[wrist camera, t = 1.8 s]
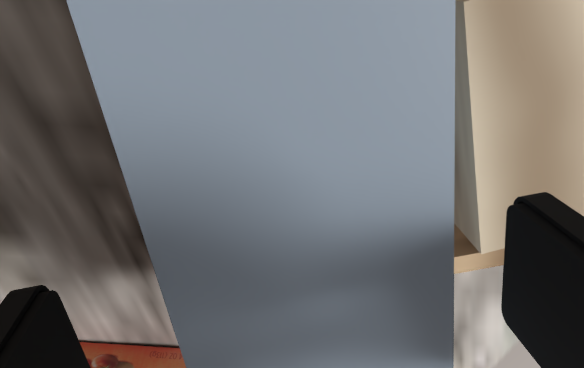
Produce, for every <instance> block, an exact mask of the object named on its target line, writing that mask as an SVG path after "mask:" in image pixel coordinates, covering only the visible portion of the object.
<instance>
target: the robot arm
mask: <svg viewBox="0 0 584 368" xmlns="http://www.w3.org/2000/svg"><path fill="white" fill-rule="evenodd" d="M502 314H503V317H504V320H505V322H506V324H507V325H508V326H509V328H510V329H511V330H512V331H513V333H514V334H515V335H516V337H517V338H518V339H519V340H520V342H521V343H522V344H523V345H524V347H525V348H526V349H527V350H528V352H529V353H530V354H531V355H532V357H533V358H534V359H535V360H536V362H537V363H538V364H539V365H540V367H541V368H584V216H582V215H581V214H579V213H578V212H577V211H575V210H574V209H572V208H571V207H569V206H568V205H566V204H565V203H563V202H562V201H560V200H559V199H557V198H556V197H554V196H553V195H551V194H550V193H547V192H542V193H536V194H531V195H525V196H520V197H517V198H516V199H515V201H514V203H513V205H510V206H509V207H508V209H507V213H506V231H505V250H504V269H503V288H502ZM0 368H91V367H90V365H89V363H88V361H87V358H86V356H85V354H84V351H83V349H82V347H81V345H80V342H79V340H78V338H77V335H76V333H75V331H74V329H73V326H72V324H71V322H70V319H69V317H68V315H67V312H66V310H65V308H64V306H63V303H62V301H61V299H60V297H59V295H58V293H57V292H56V291H53V290H52V291H49V289H48V288H47V287H46V286H43V285H39V286H34V287H29V288H23V289H18V290H13V291H11V292H10V293H9V294H8V295H7V296H6V297H5V299H4V300H3V301H2V303H1V304H0Z"/></svg>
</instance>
